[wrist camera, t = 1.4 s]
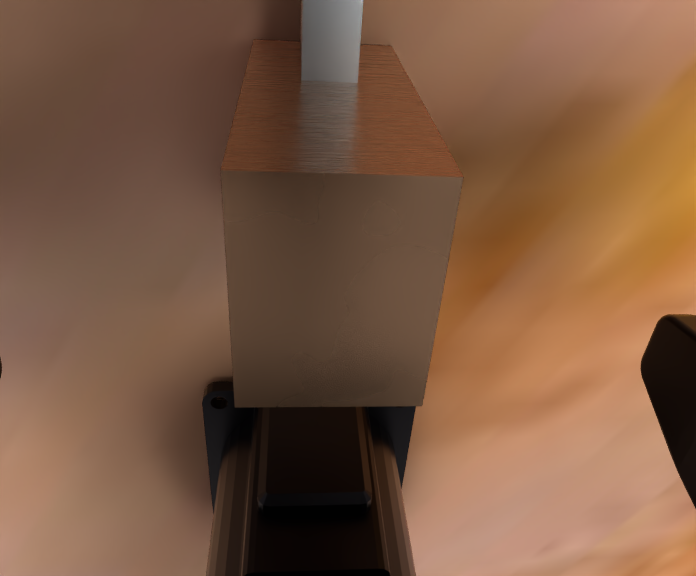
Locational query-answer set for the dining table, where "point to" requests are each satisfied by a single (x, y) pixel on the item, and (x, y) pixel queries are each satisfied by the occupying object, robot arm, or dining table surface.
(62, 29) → the dining table surface
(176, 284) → the dining table surface
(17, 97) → the dining table surface
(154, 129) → the dining table surface
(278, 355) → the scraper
